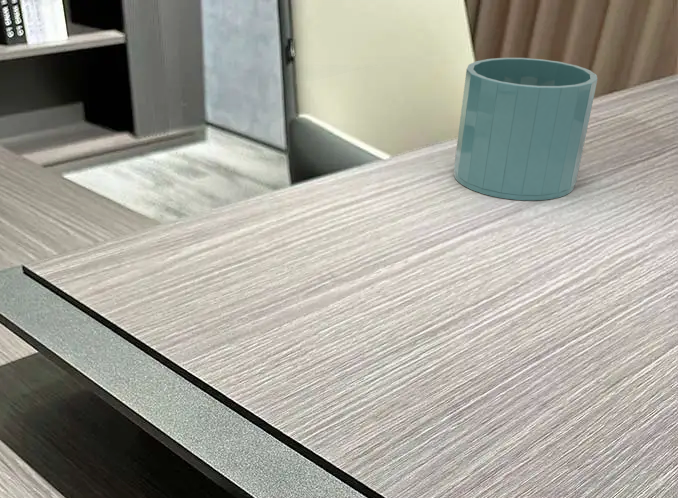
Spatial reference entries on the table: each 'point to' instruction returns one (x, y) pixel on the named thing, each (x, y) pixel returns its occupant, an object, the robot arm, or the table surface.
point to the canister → (523, 127)
